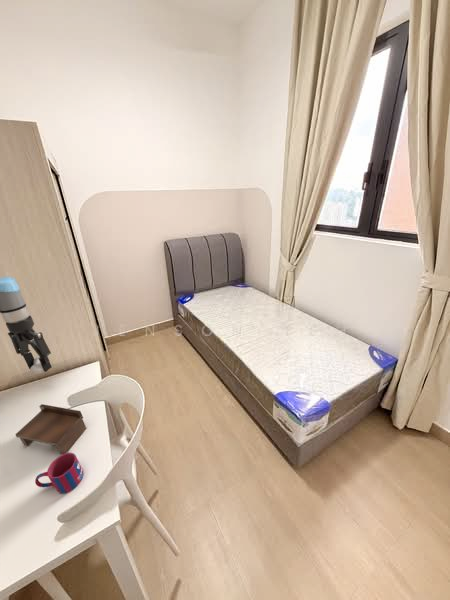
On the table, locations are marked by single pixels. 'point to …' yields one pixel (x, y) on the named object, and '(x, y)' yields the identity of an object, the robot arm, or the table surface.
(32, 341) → the robot arm
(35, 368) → the smooth white sculpture
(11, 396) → the table surface
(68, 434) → the shelf
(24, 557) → the table surface
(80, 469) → the mug
